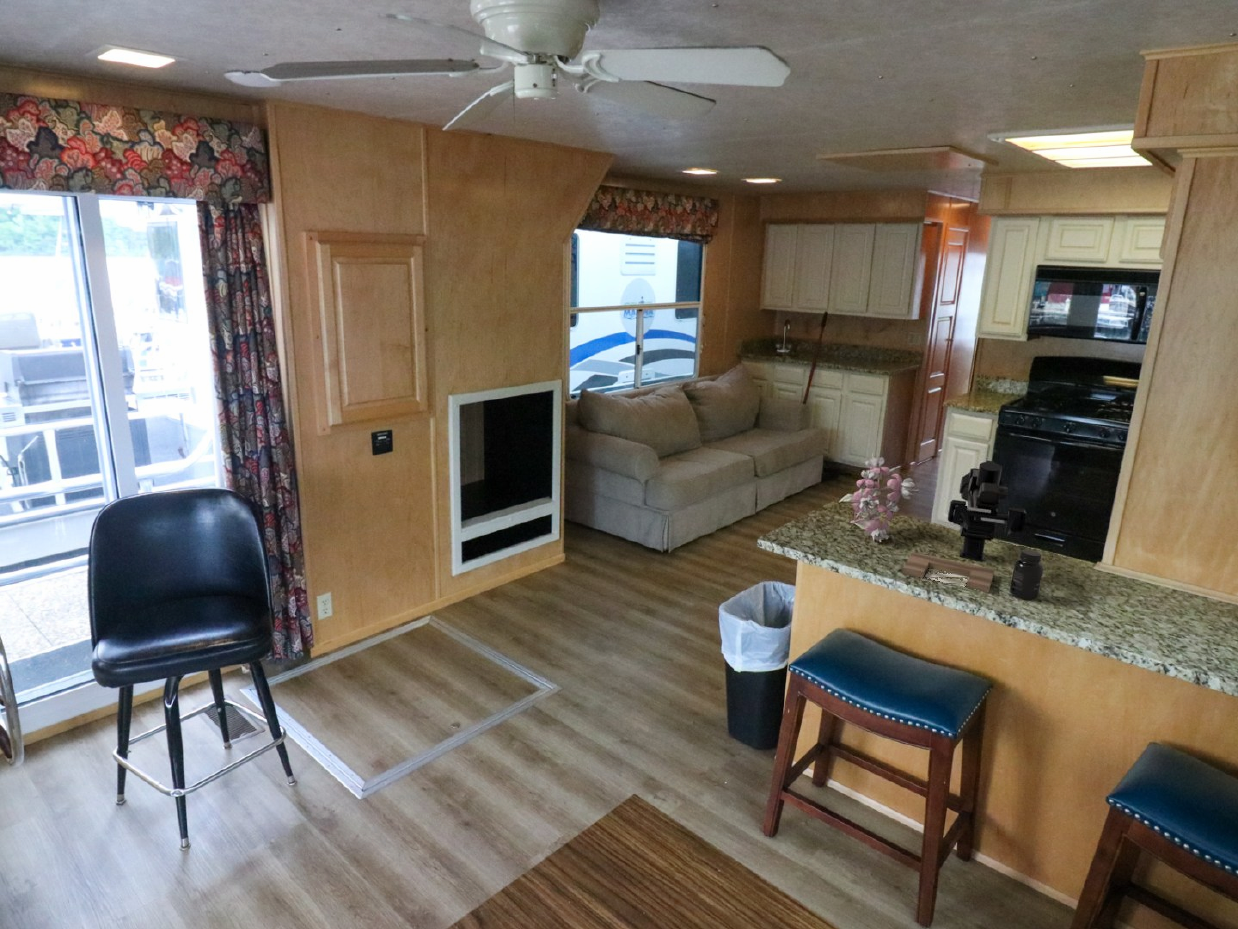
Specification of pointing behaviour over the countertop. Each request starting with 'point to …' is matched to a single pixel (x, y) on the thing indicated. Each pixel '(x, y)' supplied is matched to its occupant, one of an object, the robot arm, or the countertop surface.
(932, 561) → the notched shelf board
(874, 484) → the flower
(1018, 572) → the supplement bottle
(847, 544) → the countertop surface
